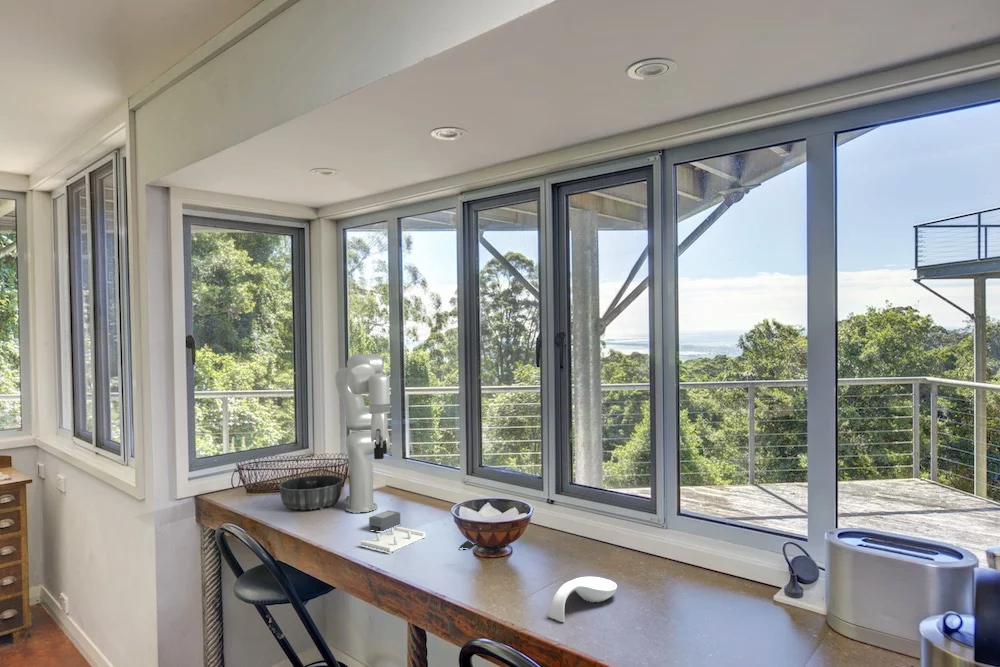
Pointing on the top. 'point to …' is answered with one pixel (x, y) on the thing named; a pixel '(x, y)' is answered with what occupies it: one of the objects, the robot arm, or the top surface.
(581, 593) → the spoon rest
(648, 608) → the top surface
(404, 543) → the tray
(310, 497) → the bundt pan
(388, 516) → the block
